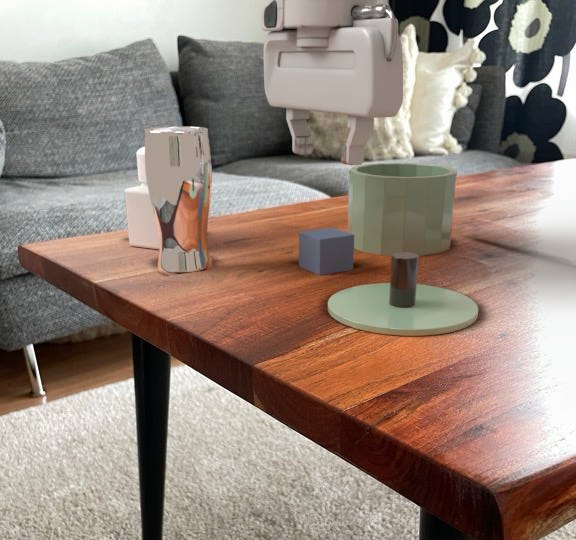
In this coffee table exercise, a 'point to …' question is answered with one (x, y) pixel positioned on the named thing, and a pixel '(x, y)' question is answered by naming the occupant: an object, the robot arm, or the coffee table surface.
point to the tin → (401, 208)
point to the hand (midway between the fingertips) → (326, 159)
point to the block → (326, 250)
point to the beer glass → (180, 195)
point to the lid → (403, 304)
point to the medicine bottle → (141, 210)
